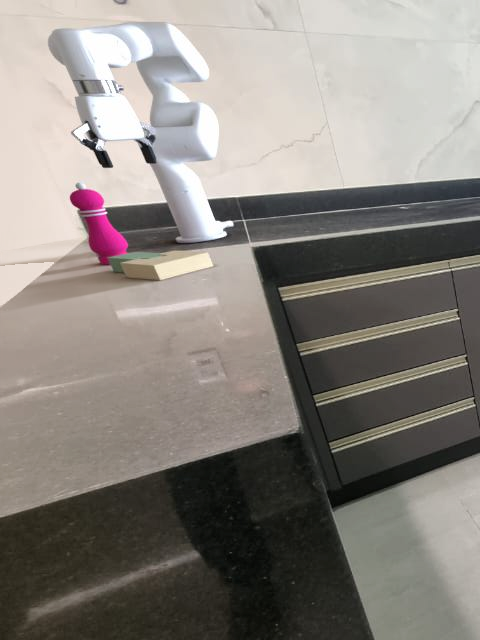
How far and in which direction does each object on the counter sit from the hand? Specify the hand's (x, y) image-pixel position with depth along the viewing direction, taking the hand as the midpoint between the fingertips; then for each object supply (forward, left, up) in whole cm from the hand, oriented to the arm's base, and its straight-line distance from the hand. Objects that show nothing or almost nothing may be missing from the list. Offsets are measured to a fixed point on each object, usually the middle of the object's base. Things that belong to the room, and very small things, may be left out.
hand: (130, 165), depth 134 cm
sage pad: (+12, +10, -23) cm, 28 cm away
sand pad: (+12, +20, -23) cm, 33 cm away
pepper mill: (+8, -8, -23) cm, 26 cm away
